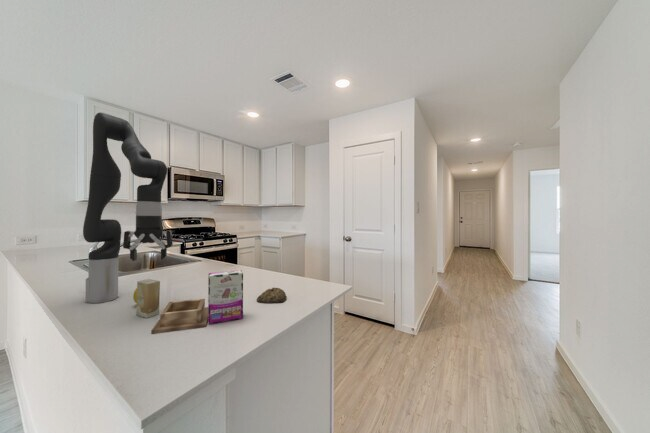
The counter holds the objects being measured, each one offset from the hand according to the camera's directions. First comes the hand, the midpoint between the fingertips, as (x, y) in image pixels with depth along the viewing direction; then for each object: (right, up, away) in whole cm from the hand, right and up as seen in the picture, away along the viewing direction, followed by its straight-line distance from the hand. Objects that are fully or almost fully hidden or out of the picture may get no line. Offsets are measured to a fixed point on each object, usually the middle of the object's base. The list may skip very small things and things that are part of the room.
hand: (148, 259), depth 87 cm
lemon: (-9, -20, +9) cm, 23 cm away
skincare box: (0, -20, 0) cm, 20 cm away
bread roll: (+40, -21, +20) cm, 49 cm away
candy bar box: (+28, -21, -2) cm, 35 cm away
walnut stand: (+15, -20, -4) cm, 25 cm away
